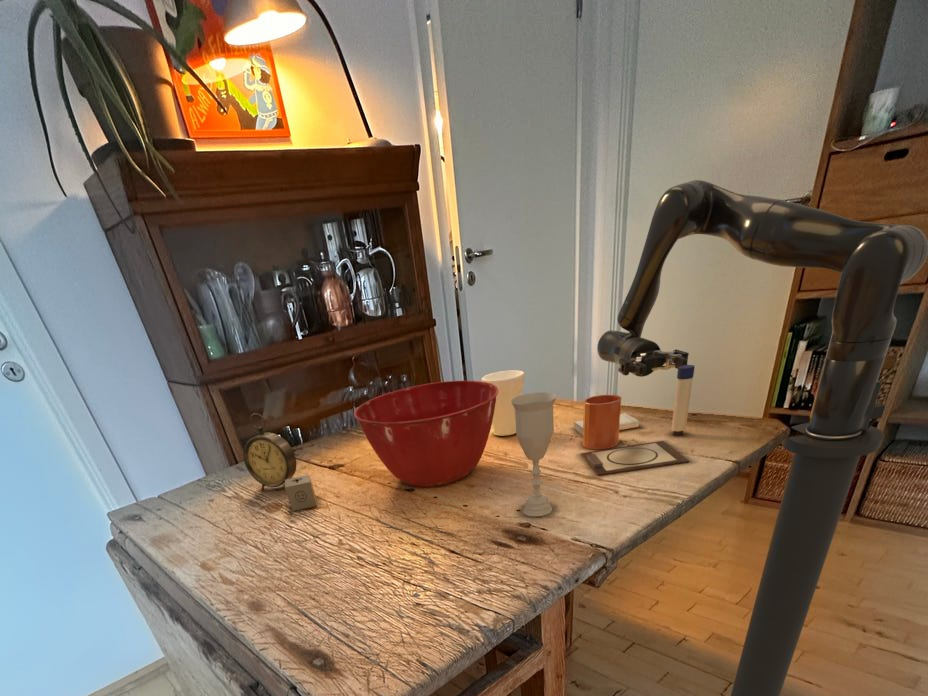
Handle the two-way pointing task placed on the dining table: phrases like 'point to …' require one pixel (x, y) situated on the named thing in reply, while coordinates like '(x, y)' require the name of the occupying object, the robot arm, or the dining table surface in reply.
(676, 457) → the brown tray
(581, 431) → the hard drive
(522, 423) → the chalice
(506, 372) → the cup
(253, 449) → the alarm clock
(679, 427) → the marker
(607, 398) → the pen cup
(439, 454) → the mixing bowl
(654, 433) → the dining table surface
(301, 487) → the grey cube
